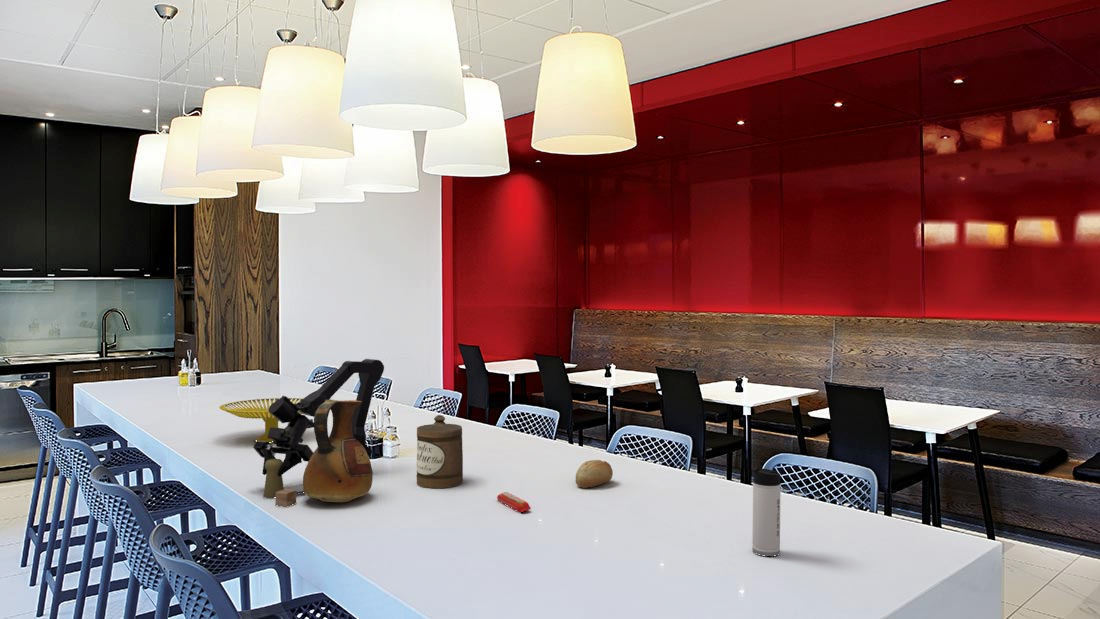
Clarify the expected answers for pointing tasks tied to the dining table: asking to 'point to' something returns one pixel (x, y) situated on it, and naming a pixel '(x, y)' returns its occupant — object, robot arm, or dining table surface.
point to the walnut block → (285, 497)
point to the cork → (273, 478)
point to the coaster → (296, 488)
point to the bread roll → (593, 473)
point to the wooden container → (439, 454)
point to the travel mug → (766, 512)
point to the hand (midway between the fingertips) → (270, 474)
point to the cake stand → (256, 413)
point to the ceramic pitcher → (337, 457)
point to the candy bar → (513, 502)
